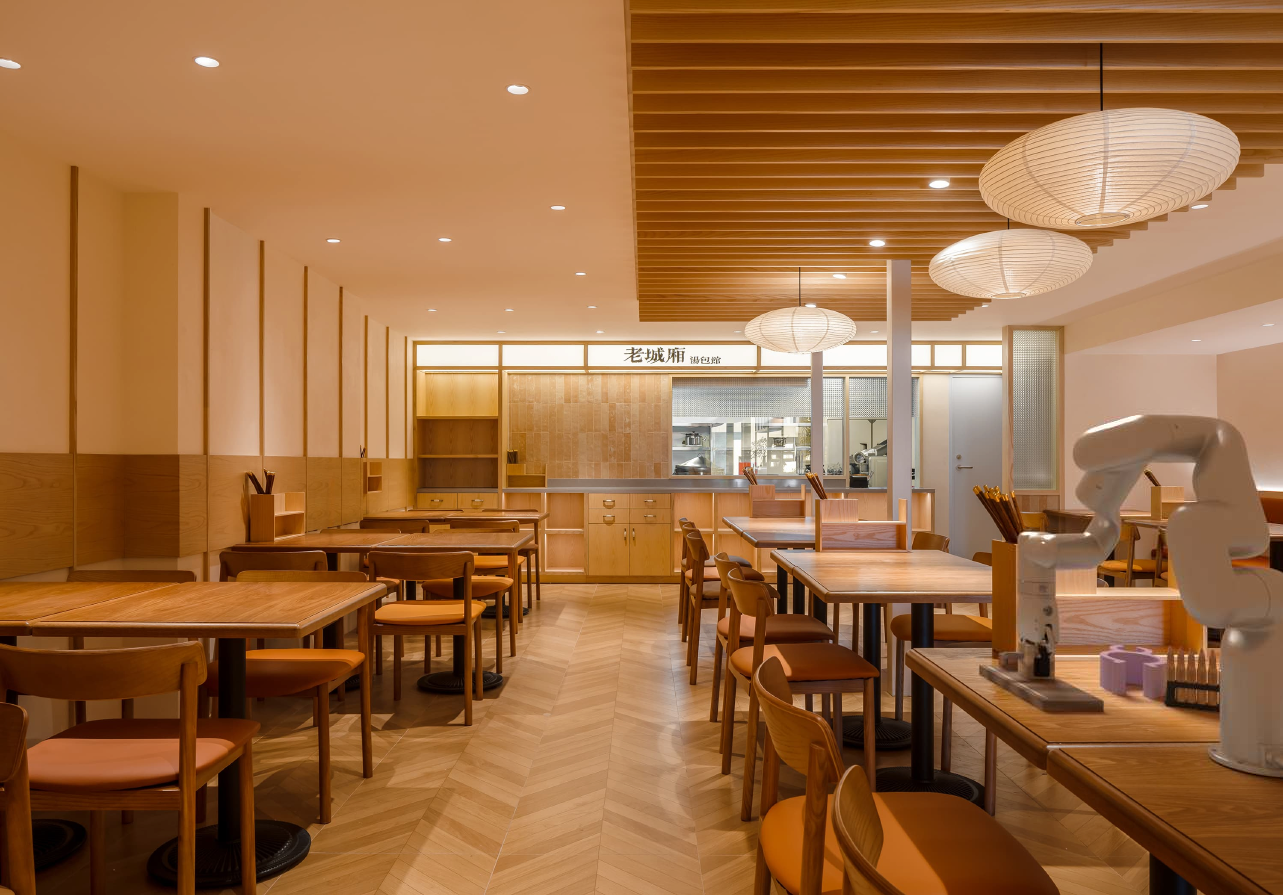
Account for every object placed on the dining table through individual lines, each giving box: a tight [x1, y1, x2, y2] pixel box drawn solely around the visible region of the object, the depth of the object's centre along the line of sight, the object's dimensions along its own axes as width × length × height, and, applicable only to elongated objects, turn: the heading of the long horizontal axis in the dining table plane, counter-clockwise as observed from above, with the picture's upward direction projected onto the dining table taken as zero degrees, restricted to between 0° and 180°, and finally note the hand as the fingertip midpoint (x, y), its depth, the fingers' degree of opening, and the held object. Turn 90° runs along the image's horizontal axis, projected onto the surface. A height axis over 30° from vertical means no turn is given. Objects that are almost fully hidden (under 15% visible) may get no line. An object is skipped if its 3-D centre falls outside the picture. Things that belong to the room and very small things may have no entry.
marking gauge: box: [1002, 641, 1056, 679], centre depth 178 cm, size 4×10×7 cm, turn 92°
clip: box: [1099, 644, 1167, 701], centre depth 179 cm, size 20×12×7 cm, turn 152°
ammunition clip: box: [1164, 645, 1220, 714], centre depth 162 cm, size 11×2×12 cm, turn 65°
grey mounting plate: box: [978, 652, 1105, 712], centre depth 174 cm, size 28×12×5 cm, turn 2°
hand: (1036, 672), depth 178 cm, fingers closed on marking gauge, 4 cm apart
